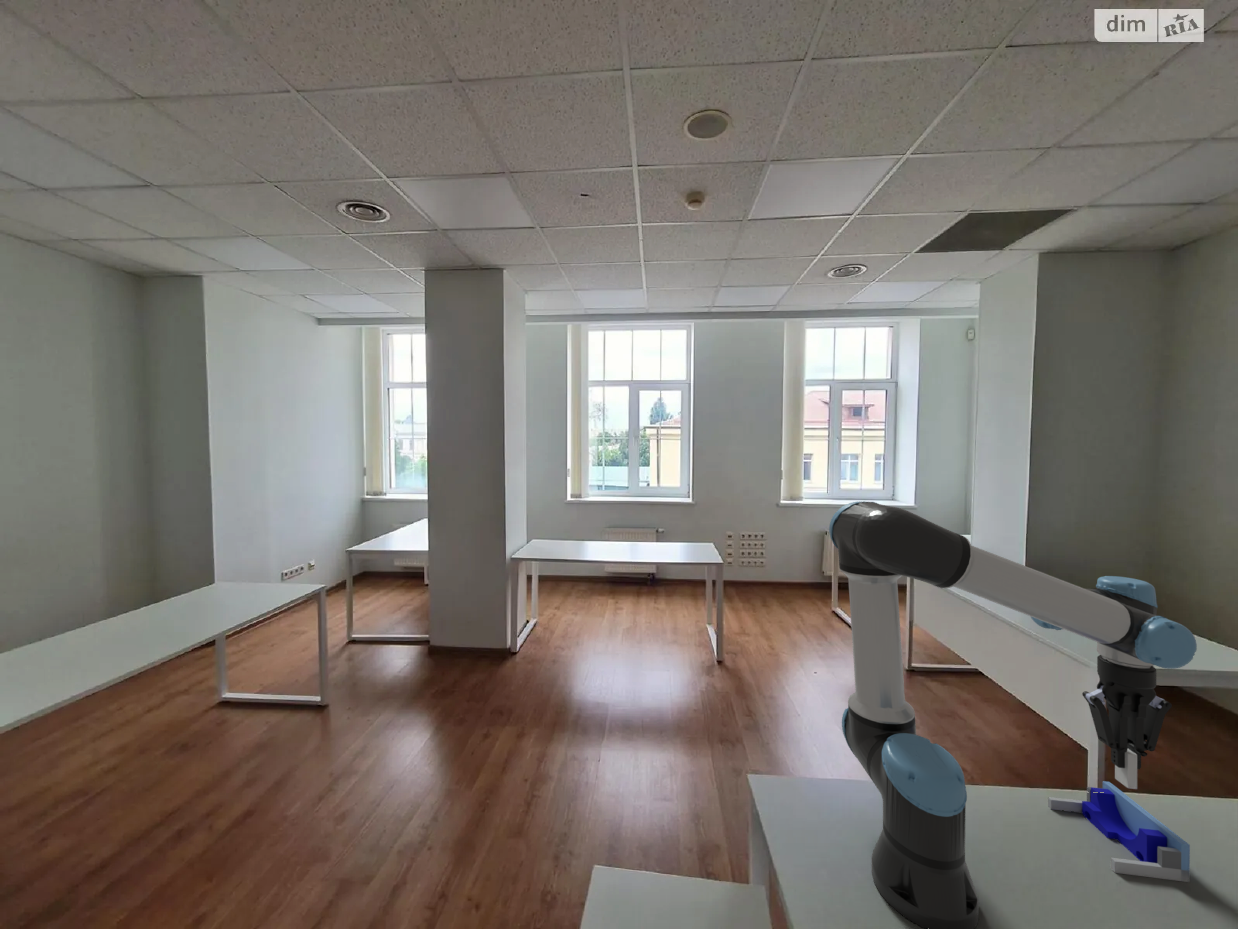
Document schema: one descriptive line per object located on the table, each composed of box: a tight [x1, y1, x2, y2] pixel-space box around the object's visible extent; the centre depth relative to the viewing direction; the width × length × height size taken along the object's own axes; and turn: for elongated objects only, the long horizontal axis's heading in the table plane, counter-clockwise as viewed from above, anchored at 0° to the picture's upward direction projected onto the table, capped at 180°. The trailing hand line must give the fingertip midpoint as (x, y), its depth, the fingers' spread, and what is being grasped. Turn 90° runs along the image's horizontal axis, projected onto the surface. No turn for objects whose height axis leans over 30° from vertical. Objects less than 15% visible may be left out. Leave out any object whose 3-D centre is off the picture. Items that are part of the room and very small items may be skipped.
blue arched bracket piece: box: [1081, 786, 1167, 863], centre depth 88 cm, size 12×4×6 cm, turn 170°
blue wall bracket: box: [1047, 780, 1191, 883], centre depth 87 cm, size 11×16×6 cm
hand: (1125, 783), depth 87 cm, fingers closed
